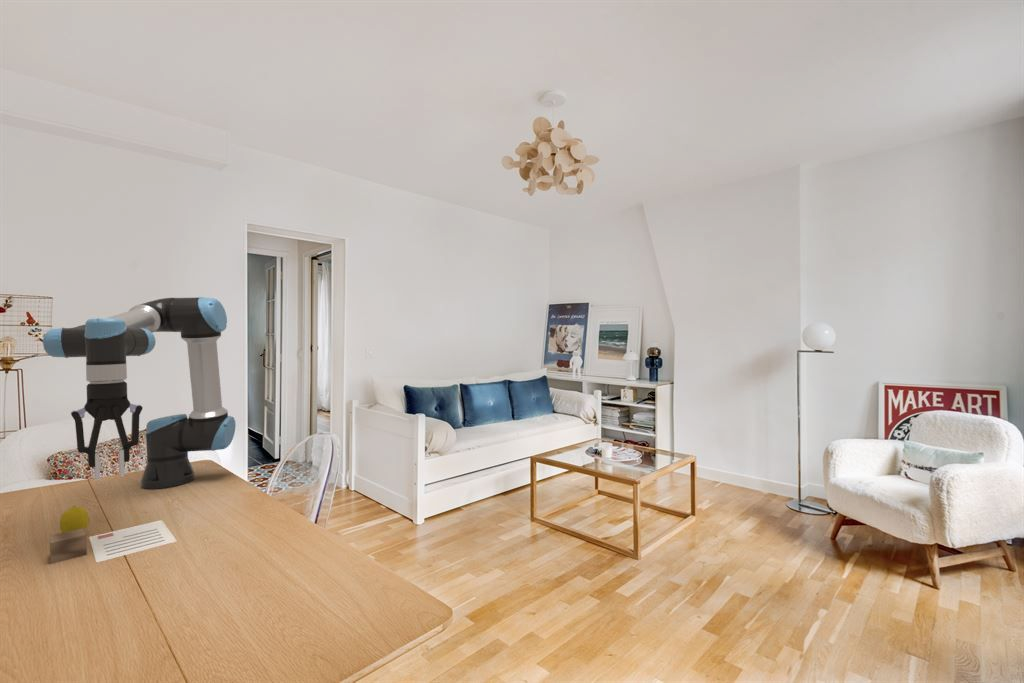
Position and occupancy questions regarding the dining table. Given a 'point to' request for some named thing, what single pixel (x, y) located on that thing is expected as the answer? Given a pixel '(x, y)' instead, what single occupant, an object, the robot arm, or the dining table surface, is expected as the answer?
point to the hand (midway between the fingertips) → (109, 477)
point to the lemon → (74, 519)
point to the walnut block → (68, 545)
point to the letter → (130, 540)
